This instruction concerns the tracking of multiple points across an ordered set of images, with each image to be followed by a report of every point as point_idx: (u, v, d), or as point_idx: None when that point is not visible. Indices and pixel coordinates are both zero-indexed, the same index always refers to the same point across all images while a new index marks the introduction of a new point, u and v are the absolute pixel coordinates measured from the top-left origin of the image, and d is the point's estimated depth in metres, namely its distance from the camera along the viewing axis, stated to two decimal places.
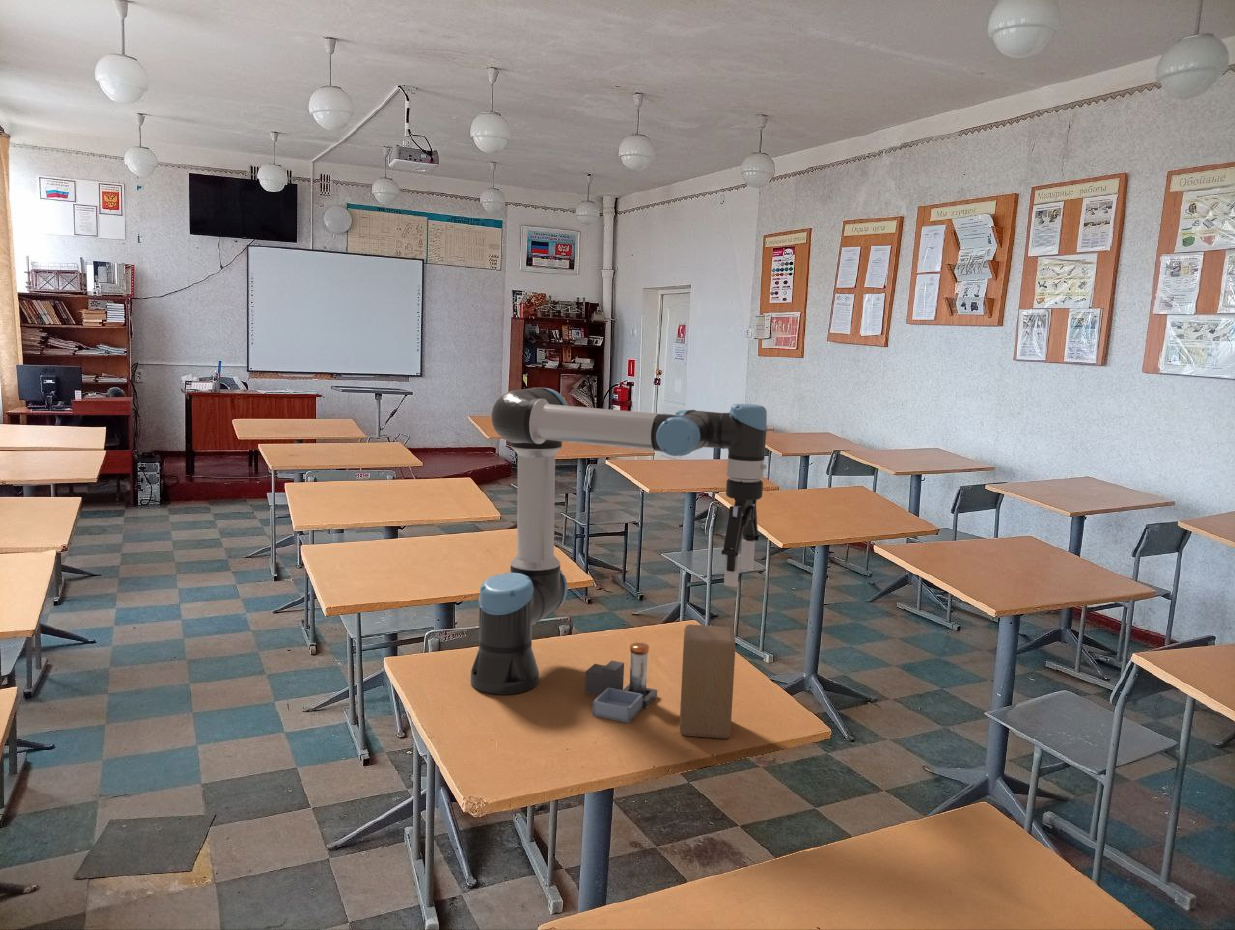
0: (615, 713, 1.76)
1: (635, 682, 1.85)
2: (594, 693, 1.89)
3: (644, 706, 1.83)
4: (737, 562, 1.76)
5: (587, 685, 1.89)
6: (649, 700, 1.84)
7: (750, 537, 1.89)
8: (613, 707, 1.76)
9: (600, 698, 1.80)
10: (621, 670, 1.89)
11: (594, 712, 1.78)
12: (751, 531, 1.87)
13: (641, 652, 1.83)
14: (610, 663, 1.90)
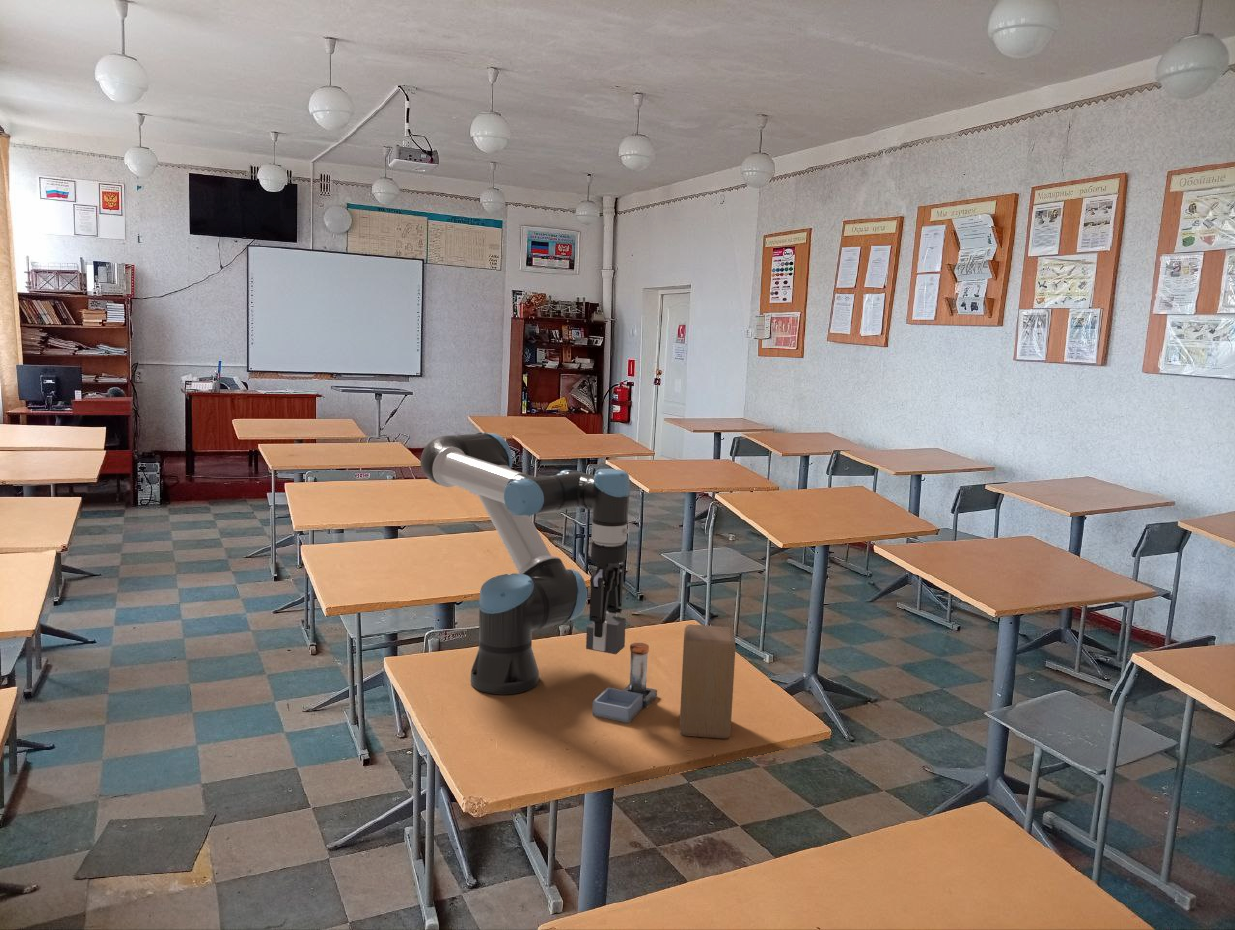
0: (615, 713, 1.76)
1: (635, 682, 1.85)
2: None
3: (644, 706, 1.83)
4: (604, 628, 1.85)
5: (588, 641, 1.88)
6: (649, 700, 1.84)
7: (612, 609, 1.91)
8: (613, 707, 1.76)
9: (600, 698, 1.80)
10: (622, 625, 1.88)
11: (594, 712, 1.78)
12: (614, 599, 1.89)
13: (641, 652, 1.83)
14: (611, 619, 1.88)
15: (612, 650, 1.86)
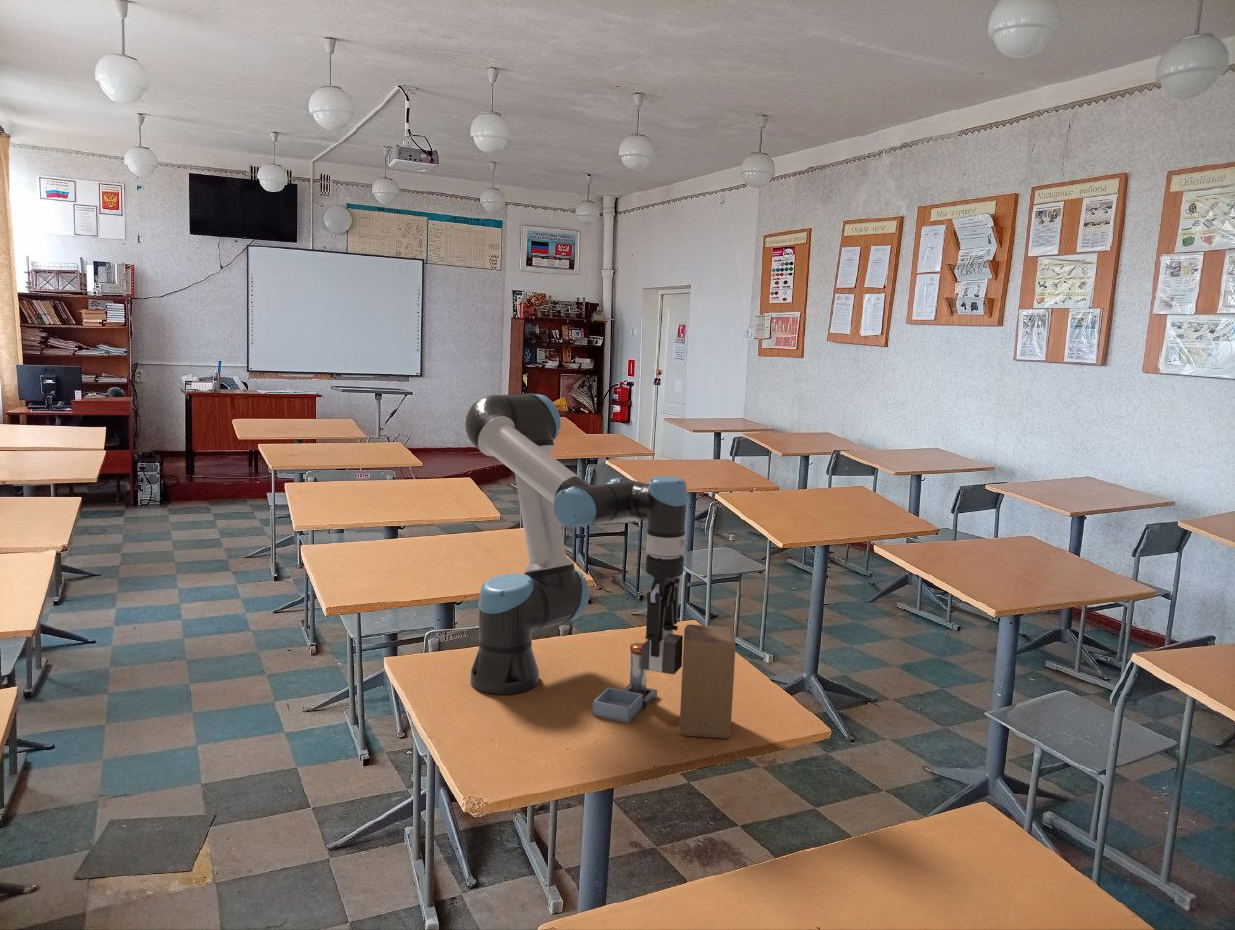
0: (615, 713, 1.76)
1: (635, 682, 1.85)
2: None
3: (644, 706, 1.83)
4: (661, 647, 1.73)
5: (644, 660, 1.75)
6: (649, 700, 1.84)
7: (668, 627, 1.78)
8: (613, 707, 1.76)
9: (600, 698, 1.80)
10: (680, 643, 1.75)
11: (594, 712, 1.78)
12: (670, 616, 1.77)
13: (641, 652, 1.83)
14: (668, 636, 1.76)
15: (670, 670, 1.73)
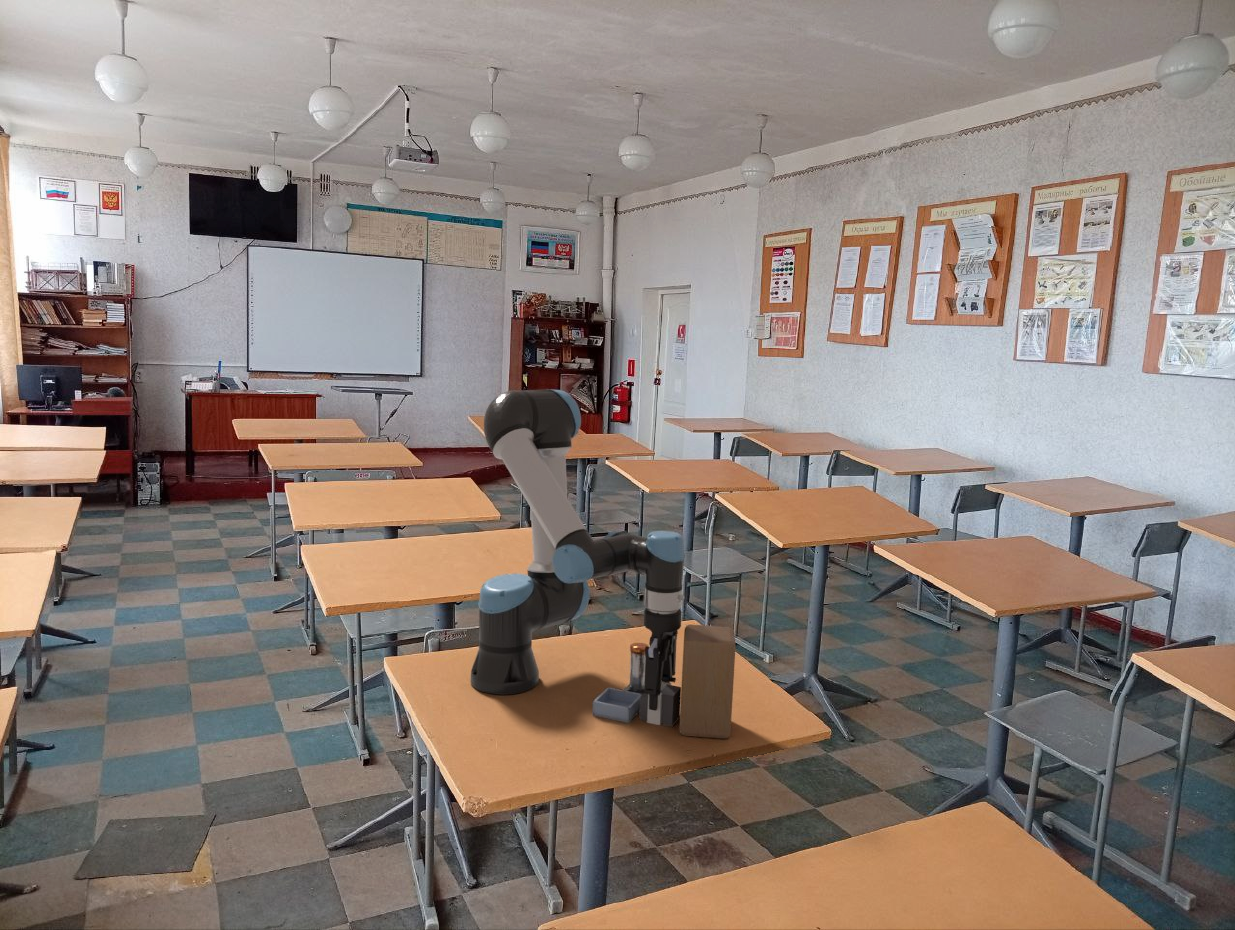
0: (615, 713, 1.76)
1: (635, 682, 1.85)
2: None
3: None
4: (659, 700, 1.74)
5: (642, 711, 1.77)
6: None
7: (666, 678, 1.80)
8: (613, 707, 1.76)
9: (600, 698, 1.80)
10: (678, 695, 1.77)
11: (594, 712, 1.78)
12: (668, 668, 1.79)
13: (641, 652, 1.83)
14: (666, 687, 1.78)
15: (668, 722, 1.75)
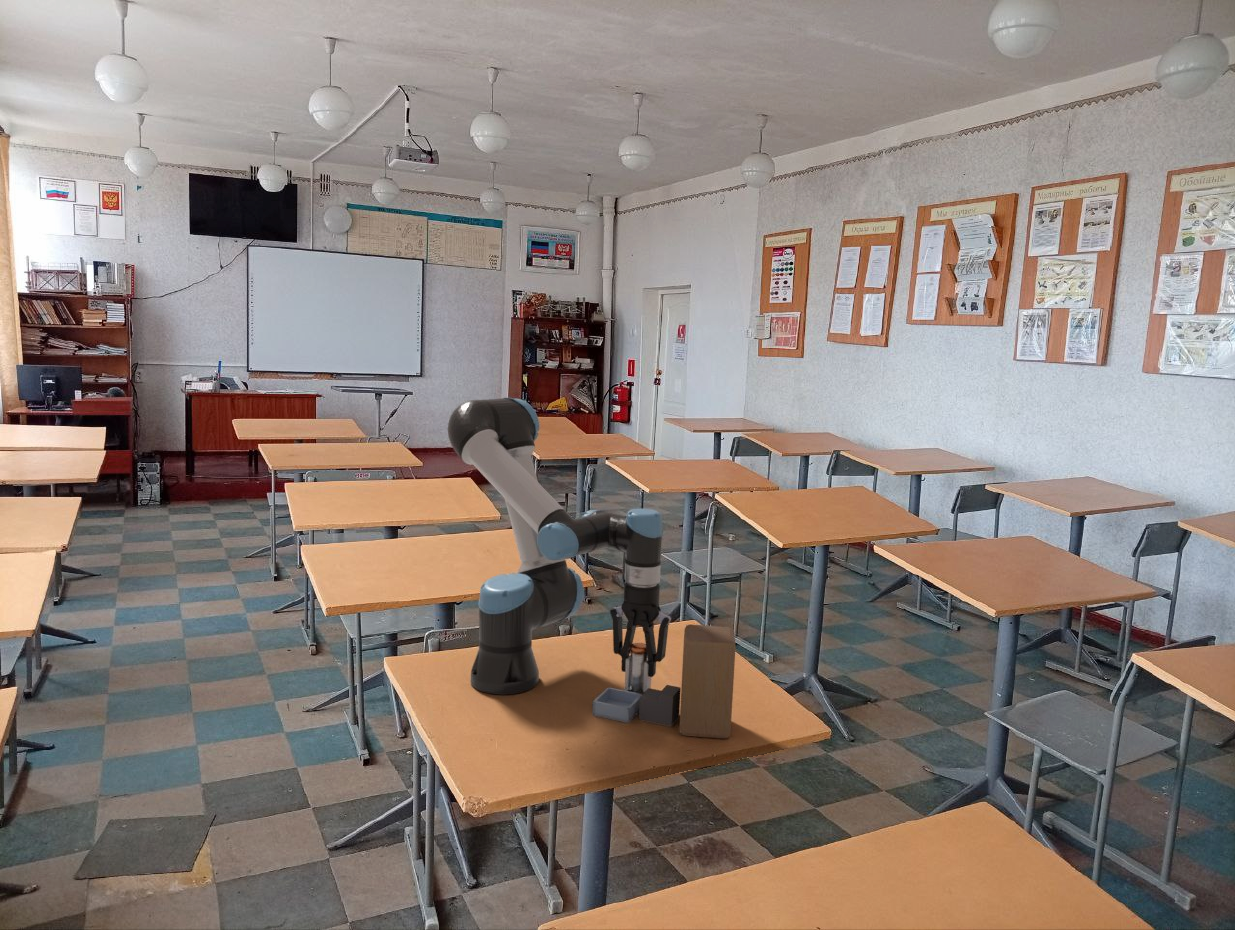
0: (615, 713, 1.76)
1: (635, 682, 1.85)
2: (649, 720, 1.76)
3: None
4: (626, 665, 1.86)
5: (641, 712, 1.77)
6: None
7: None
8: (613, 707, 1.76)
9: (600, 698, 1.80)
10: (678, 695, 1.77)
11: (594, 712, 1.78)
12: None
13: (641, 652, 1.83)
14: (666, 688, 1.78)
15: (667, 722, 1.75)
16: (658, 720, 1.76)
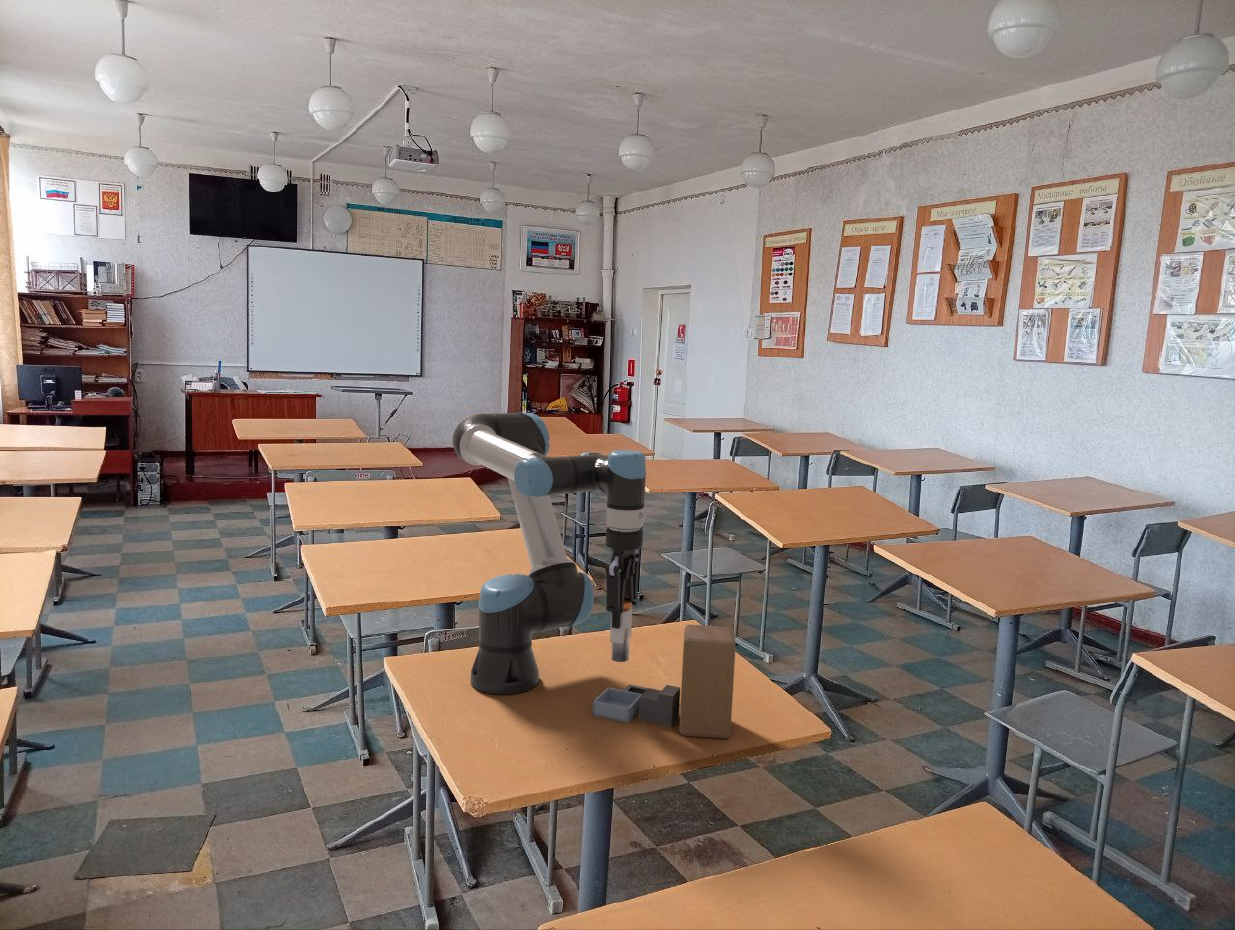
0: (615, 713, 1.76)
1: (629, 639, 1.78)
2: (649, 720, 1.76)
3: None
4: (622, 619, 1.75)
5: (641, 712, 1.77)
6: None
7: None
8: (613, 707, 1.76)
9: (600, 698, 1.80)
10: (677, 695, 1.77)
11: (594, 712, 1.78)
12: (629, 590, 1.78)
13: None
14: (666, 688, 1.78)
15: (667, 722, 1.75)
16: (658, 720, 1.76)
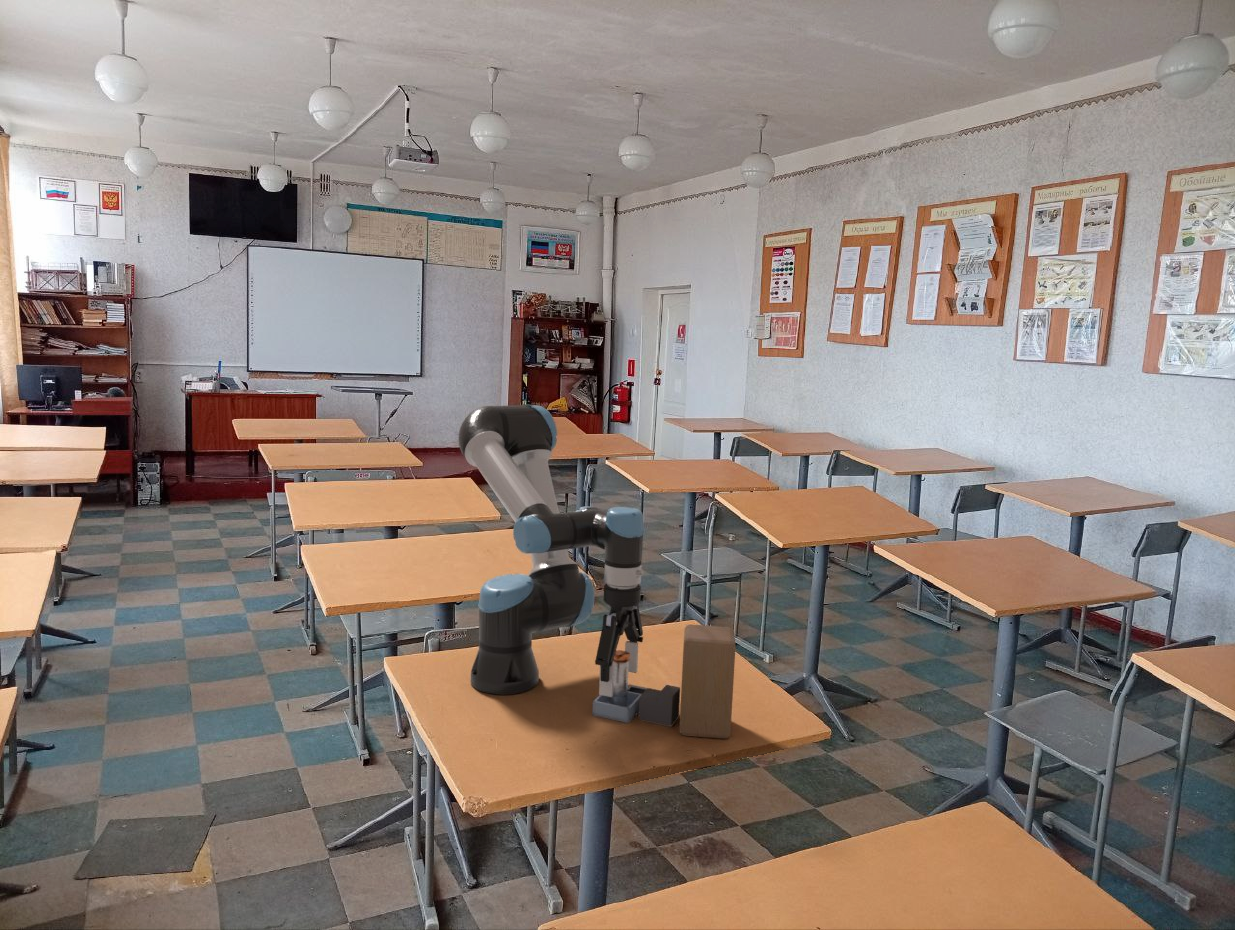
0: (615, 713, 1.76)
1: (627, 690, 1.79)
2: (649, 720, 1.76)
3: None
4: (611, 672, 1.72)
5: (641, 711, 1.77)
6: None
7: (634, 638, 1.85)
8: (613, 707, 1.76)
9: (600, 698, 1.80)
10: (677, 695, 1.77)
11: (594, 712, 1.78)
12: (633, 633, 1.83)
13: None
14: (665, 688, 1.78)
15: (667, 722, 1.75)
16: (658, 720, 1.76)
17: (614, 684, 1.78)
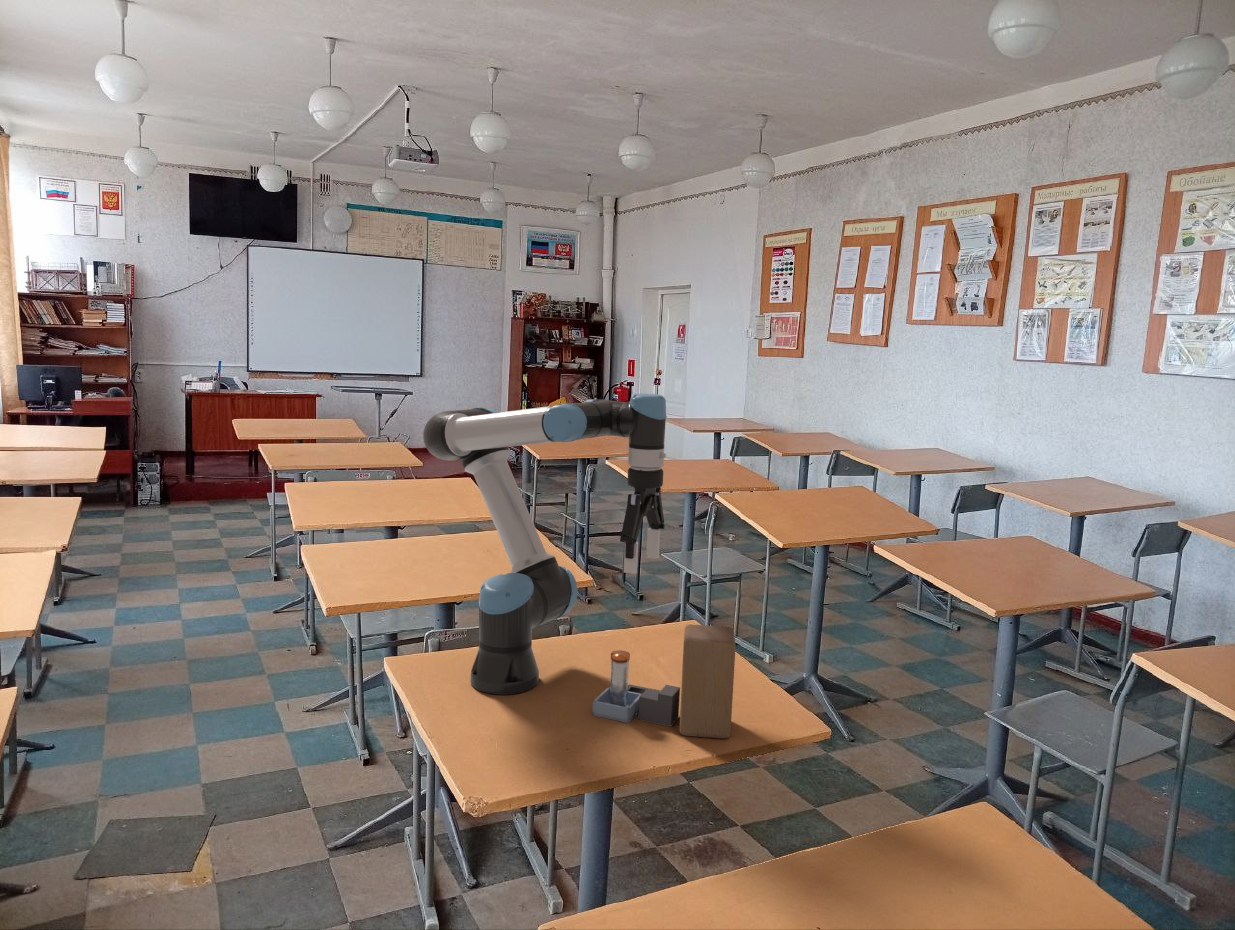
0: (615, 713, 1.76)
1: (627, 690, 1.79)
2: (648, 720, 1.76)
3: None
4: (636, 549, 1.79)
5: (641, 711, 1.77)
6: None
7: (655, 525, 1.92)
8: (613, 707, 1.76)
9: (600, 698, 1.80)
10: (677, 695, 1.77)
11: (594, 712, 1.78)
12: (655, 519, 1.90)
13: None
14: (665, 688, 1.78)
15: (667, 722, 1.75)
16: (657, 720, 1.76)
17: (614, 684, 1.78)
